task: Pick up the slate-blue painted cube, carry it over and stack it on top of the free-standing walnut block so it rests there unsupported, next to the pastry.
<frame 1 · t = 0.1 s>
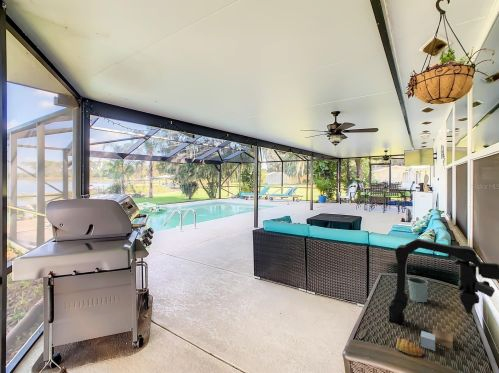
hand: (468, 309, 111), 15 cm above the table, fingers open, 9 cm apart
walnut block: (442, 342, 111), on the table
drinking glass: (417, 300, 151), on the table
cube: (428, 346, 108), on the table
pastry: (407, 350, 106), on the table
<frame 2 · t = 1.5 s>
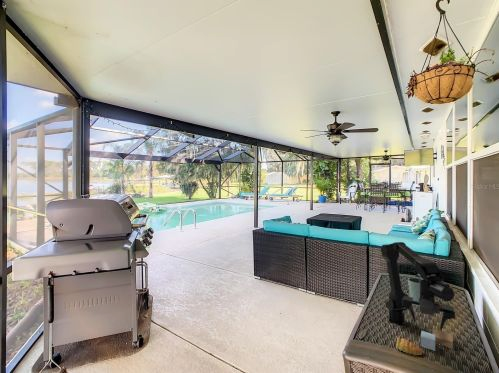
hand: (427, 325, 108), 9 cm above the table, fingers open, 9 cm apart
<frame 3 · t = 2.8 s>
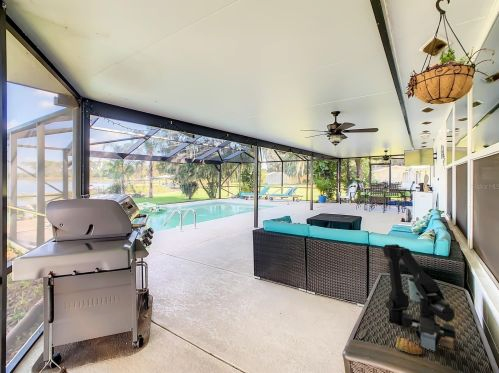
hand: (428, 344, 108), 1 cm above the table, fingers closed on cube, 5 cm apart
cube: (428, 346, 108), on the table, touching gripper
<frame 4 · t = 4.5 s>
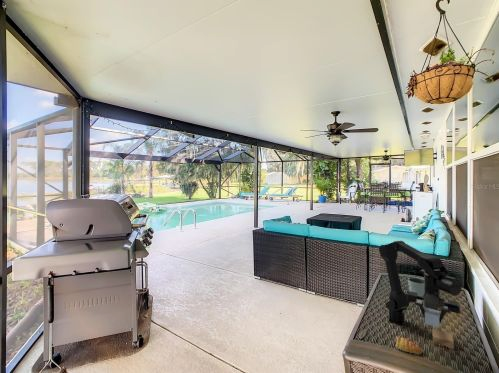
hand: (432, 320, 109), 11 cm above the table, fingers closed on cube, 5 cm apart
cube: (432, 323, 109), point 10 cm above the table, touching gripper
when the fingers open (6 cm above the table, at t = 6.4 s): cube drops 2 cm, resting on walnut block.
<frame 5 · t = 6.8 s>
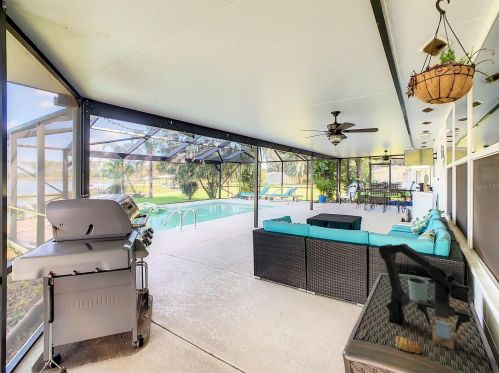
hand: (442, 328, 111), 6 cm above the table, fingers open, 9 cm apart
walnut block: (442, 342, 111), on the table, touching cube
cube: (442, 334, 111), point 3 cm above the table, touching walnut block
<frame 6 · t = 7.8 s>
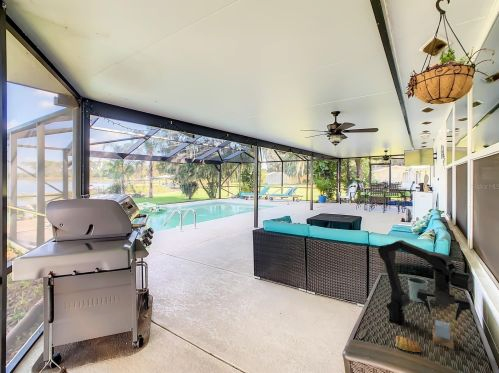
hand: (442, 317, 110), 11 cm above the table, fingers open, 9 cm apart
walnut block: (442, 342, 111), on the table
cube: (442, 335, 111), point 3 cm above the table
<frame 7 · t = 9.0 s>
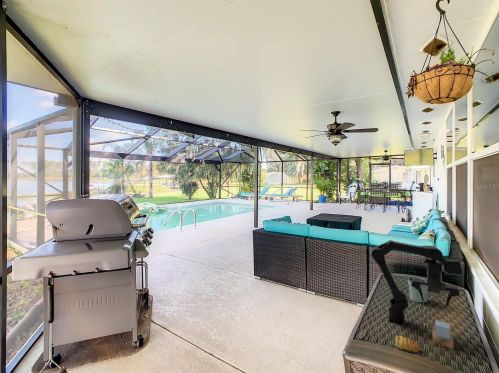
hand: (434, 303, 121), 12 cm above the table, fingers open, 9 cm apart
walnut block: (442, 342, 111), on the table, touching cube
cube: (442, 335, 111), point 3 cm above the table, touching walnut block
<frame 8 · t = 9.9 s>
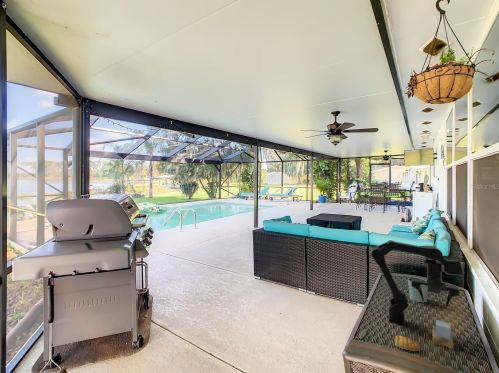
hand: (434, 303, 121), 12 cm above the table, fingers open, 9 cm apart
at the end: cube 0.4 cm off-centre on the walnut block, point 3.5 cm above the walnut block's base; cube touching walnut block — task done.
